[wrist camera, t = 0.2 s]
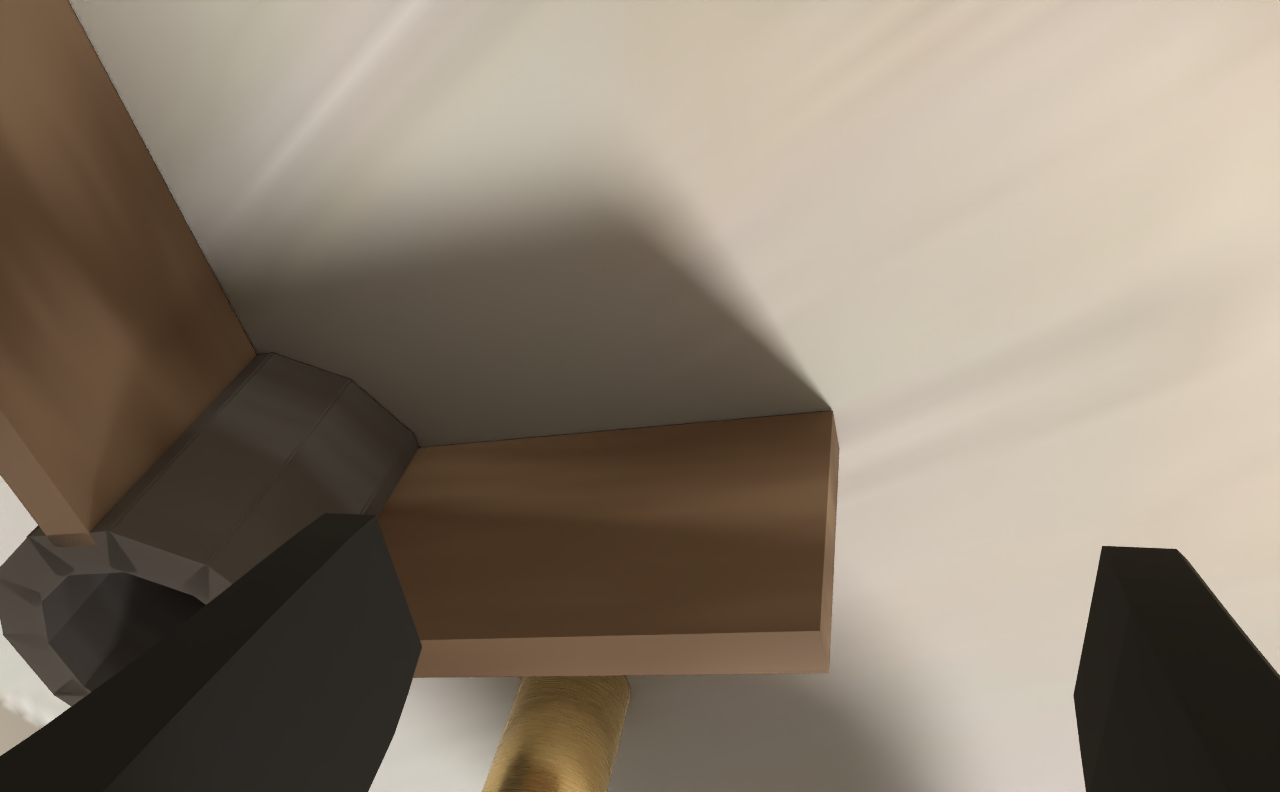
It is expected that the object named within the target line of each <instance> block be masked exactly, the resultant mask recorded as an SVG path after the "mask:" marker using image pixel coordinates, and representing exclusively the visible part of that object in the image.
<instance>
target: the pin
mask: <svg viewBox="0 0 1280 792" xmlns="http://www.w3.org/2000/svg"><path fill="white" fill-rule="evenodd" d="M630 696H631V691H630V686H629V683H628V681H627V679H626V678H625V676H624V675H611V676H523V679H522V682H521V684H520V687H519V690H518V693H517V696H516V698H515V701H514V704H513V707H512V709H511V712H510V715H509V718H508V721H507V723H506V726H505V729H504V732H503V734H502V737H501V740H500V743H499V745H498V748H497V751H496V754H495V757H494V759H493V762H492V765H491V768H490V770H489V773H488V776H487V779H486V782H485V784H484V787H483V790H482V792H607V791H608V787H609V783H610V778H611V774H612V770H613V766H614V762H615V758H616V754H617V750H618V746H619V742H620V738H621V734H622V730H623V726H624V721H625V717H626V713H627V709H628V705H629V701H630Z"/></svg>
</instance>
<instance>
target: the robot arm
mask: <svg viewBox="0 0 1280 792" xmlns="http://www.w3.org/2000/svg"><path fill="white" fill-rule="evenodd" d="M421 649H422V644H421V641H420V639H419V636H418V633H417V630H416V627H415V624H414V622H413V619H412V616H411V613H410V610H409V607H408V605H407V602H406V599H405V596H404V593H403V590H402V588H401V585H400V582H399V579H398V576H397V574H396V571H395V568H394V565H393V562H392V559H391V557H390V554H389V551H388V548H387V545H386V542H385V540H384V537H383V534H382V531H381V528H380V525H379V523H378V520H377V517H376V515H358V514H335V513H324V514H323V515H322V516H320V517H319V518H317V519H316V520H315V521H313V522H312V523H310V524H309V525H308V526H306V527H305V528H304V529H302V530H301V531H300V532H298V533H297V534H296V535H294V536H293V537H292V538H290V539H289V540H288V541H286V542H285V543H284V544H283V545H281V546H280V547H279V548H277V549H276V550H275V551H274V552H272V553H271V554H270V555H268V556H267V557H266V558H265V559H263V560H262V561H261V562H260V563H258V564H257V565H256V566H255V567H253V568H252V569H251V570H250V571H248V572H247V573H246V574H245V575H243V576H242V577H241V578H239V579H238V580H237V581H236V582H234V583H233V584H232V585H231V586H229V587H228V588H227V589H226V590H224V591H223V592H222V593H221V594H219V595H218V596H217V597H216V598H214V599H213V600H212V601H210V602H209V603H208V604H207V605H205V606H204V607H203V608H202V609H200V610H199V611H198V612H196V613H195V614H194V615H193V616H191V617H190V618H189V619H188V620H186V621H185V622H184V623H182V624H181V625H180V626H179V627H177V628H176V629H175V630H173V631H172V632H171V633H170V634H168V635H167V636H166V637H165V638H163V639H162V640H161V641H159V642H158V643H157V644H156V645H154V646H153V647H152V648H150V649H149V650H148V651H147V652H145V653H144V654H143V655H141V656H140V657H139V658H137V659H136V660H134V661H133V662H132V663H130V664H129V665H128V666H126V667H125V668H124V669H122V670H121V671H119V672H118V673H117V674H115V675H114V676H113V677H111V678H110V679H108V680H107V681H106V682H104V683H103V684H102V685H100V686H99V687H98V688H96V689H95V690H93V691H92V692H91V693H89V694H88V695H87V696H85V697H84V698H83V699H81V700H80V701H78V702H77V703H76V704H74V705H73V706H72V707H70V708H69V709H67V710H66V711H65V712H63V713H62V714H61V715H59V716H58V717H57V718H55V719H54V720H52V721H51V722H50V723H48V724H47V725H46V726H44V727H43V728H41V729H40V730H38V731H37V732H35V733H34V734H32V735H31V736H30V737H28V738H27V739H25V740H24V741H22V742H21V743H19V744H18V745H16V746H15V747H13V748H12V749H10V750H9V751H7V752H6V753H4V754H3V755H1V756H0V792H368V791H369V788H370V786H371V784H372V782H373V780H374V778H375V776H376V773H377V771H378V769H379V767H380V765H381V763H382V760H383V758H384V756H385V754H386V752H387V749H388V747H389V745H390V743H391V740H392V738H393V736H394V733H395V731H396V728H397V725H398V722H399V719H400V716H401V713H402V710H403V707H404V704H405V701H406V698H407V695H408V692H409V689H410V685H411V682H412V679H413V676H414V672H415V669H416V666H417V662H418V659H419V656H420V653H421ZM1074 702H1075V710H1076V718H1077V727H1078V735H1079V743H1080V751H1081V758H1082V766H1083V773H1084V780H1085V787H1086V792H1280V675H1279V674H1278V673H1277V672H1276V671H1275V669H1274V668H1273V667H1272V666H1271V664H1270V663H1269V662H1268V661H1267V660H1266V658H1265V657H1264V656H1263V655H1262V653H1261V652H1260V651H1259V650H1258V649H1257V647H1256V646H1255V645H1254V644H1253V642H1252V641H1251V640H1250V639H1249V638H1248V636H1247V635H1246V634H1245V633H1244V631H1243V630H1242V629H1241V628H1240V626H1239V625H1238V624H1237V623H1236V621H1235V620H1234V619H1233V618H1232V616H1231V615H1230V614H1229V613H1228V611H1227V610H1226V609H1225V607H1224V606H1223V605H1222V604H1221V602H1220V601H1219V600H1218V599H1217V597H1216V596H1215V595H1214V593H1213V592H1212V591H1211V590H1210V588H1209V587H1208V586H1207V584H1206V583H1205V582H1204V581H1203V579H1202V578H1201V577H1200V575H1199V574H1198V573H1197V572H1196V570H1195V569H1194V568H1193V566H1192V565H1191V564H1190V563H1189V561H1188V560H1187V559H1186V558H1185V557H1184V556H1183V555H1182V554H1181V553H1180V552H1179V551H1178V550H1177V549H1162V548H1138V547H1115V546H1102V550H1101V555H1100V560H1099V566H1098V571H1097V576H1096V581H1095V587H1094V592H1093V597H1092V602H1091V607H1090V613H1089V618H1088V623H1087V628H1086V633H1085V639H1084V644H1083V649H1082V654H1081V659H1080V665H1079V670H1078V675H1077V680H1076V685H1075V691H1074Z"/></svg>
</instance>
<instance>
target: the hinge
mask: <svg viewBox="0 0 1280 792" xmlns="http://www.w3.org/2000/svg"><path fill="white" fill-rule="evenodd" d="M838 467H839V444H838V438H837V433H836V427H835V421H834V415H833V411H827V412H816V413H804V414H793V415H782V416H771V417H759V418H748V419H737V420H726V421H715V422H703V423H692V424H681V425H670V426H658V427H647V428H636V429H625V430H614V431H602V432H591V433H580V434H569V435H557V436H546V437H535V438H524V439H513V440H501V441H490V442H479V443H468V444H456V445H445V446H434V447H423V448H419V446H418V444H417V442H416V439H415V437H414V435H413V433H412V432H411V431H410V430H408V429H407V428H406V427H405V426H404V425H403V424H401V423H400V422H399V421H398V420H397V419H396V418H394V417H393V416H392V415H391V414H390V413H389V412H387V411H386V410H385V409H384V408H383V407H382V406H380V405H379V404H378V403H377V402H376V401H375V400H373V399H372V398H371V397H370V396H369V395H368V394H366V393H365V392H364V391H363V390H362V389H361V388H360V387H358V386H357V385H356V384H355V383H354V382H353V381H352V380H350V379H347V378H344V377H341V376H338V375H335V374H332V373H329V372H327V371H324V370H321V369H318V368H315V367H312V366H309V365H306V364H303V363H300V362H298V361H295V360H292V359H289V358H286V357H283V356H280V355H277V354H274V353H272V352H271V353H268V354H261V355H257V354H256V353H255V351H254V349H253V347H252V345H251V343H250V341H249V339H248V338H247V336H246V334H245V332H244V330H243V328H242V326H241V325H240V323H239V321H238V319H237V317H236V315H235V313H234V311H233V310H232V308H231V306H230V304H229V302H228V300H227V298H226V296H225V295H224V293H223V291H222V289H221V287H220V285H219V283H218V281H217V280H216V278H215V276H214V274H213V272H212V270H211V268H210V266H209V265H208V263H207V261H206V259H205V257H204V255H203V253H202V251H201V250H200V248H199V246H198V244H197V242H196V240H195V238H194V236H193V235H192V233H191V231H190V229H189V227H188V225H187V223H186V221H185V220H184V218H183V216H182V214H181V212H180V210H179V208H178V206H177V205H176V203H175V201H174V199H173V197H172V195H171V193H170V191H169V190H168V188H167V186H166V184H165V182H164V180H163V178H162V176H161V175H160V173H159V171H158V169H157V167H156V165H155V163H154V161H153V160H152V158H151V156H150V154H149V152H148V150H147V148H146V146H145V145H144V143H143V141H142V139H141V137H140V135H139V133H138V131H137V130H136V128H135V126H134V124H133V122H132V120H131V118H130V116H129V115H128V113H127V111H126V109H125V107H124V105H123V103H122V102H121V100H120V98H119V96H118V94H117V92H116V90H115V88H114V87H113V85H112V83H111V81H110V79H109V77H108V75H107V73H106V72H105V70H104V68H103V66H102V64H101V62H100V60H99V58H98V57H97V55H96V53H95V51H94V49H93V47H92V45H91V43H90V42H89V40H88V38H87V36H86V34H85V32H84V30H83V28H82V27H81V25H80V23H79V21H78V19H77V17H76V15H75V13H74V12H73V10H72V8H71V6H70V4H69V2H68V0H0V475H1V476H2V478H3V479H4V480H5V482H6V483H7V484H8V486H9V487H10V488H11V489H12V491H13V492H14V493H15V495H16V496H17V497H18V499H19V500H20V501H21V503H22V504H23V505H24V507H25V508H26V509H27V511H28V512H29V513H30V515H31V516H32V517H33V519H34V520H35V521H36V523H37V524H38V526H37V527H36V528H35V529H34V530H33V531H32V532H31V533H30V534H29V535H28V536H27V538H26V539H25V541H24V542H23V543H22V544H21V545H20V546H19V547H18V548H17V549H16V550H15V552H14V553H13V554H12V555H11V556H10V557H9V558H8V559H7V560H6V561H5V562H4V564H3V565H2V566H1V567H0V620H1V625H2V630H3V635H4V636H5V638H6V639H7V640H8V641H9V642H10V643H11V645H12V646H13V647H14V648H15V649H16V651H17V652H18V653H19V654H20V655H21V656H22V658H23V659H24V660H25V661H26V662H27V664H28V665H29V666H30V667H31V668H32V669H33V671H34V672H35V673H36V674H37V675H38V677H39V678H40V679H41V680H42V681H43V682H44V684H45V685H46V686H47V687H48V688H49V690H50V691H51V692H52V693H53V695H55V696H56V697H58V698H59V699H61V700H62V701H64V702H66V703H67V704H69V705H70V706H73V705H74V704H76V703H77V702H78V701H80V700H81V699H83V698H84V697H85V696H87V695H88V694H89V693H91V692H92V691H93V690H95V689H96V688H98V687H99V686H100V685H102V684H103V683H104V682H106V681H107V680H108V679H110V678H111V677H113V676H114V675H115V674H117V673H118V672H119V671H121V670H122V669H124V668H125V667H126V666H128V665H129V664H130V663H132V662H133V661H134V660H136V659H137V658H139V657H140V656H141V655H143V654H144V653H145V652H147V651H148V650H149V649H150V648H152V647H153V646H154V645H156V644H157V643H158V642H159V641H161V640H162V639H163V638H165V637H166V636H167V635H168V634H170V633H171V632H172V631H173V630H175V629H176V628H177V627H179V626H180V625H181V624H182V623H184V622H185V621H186V620H188V619H189V618H190V617H191V616H193V615H194V614H195V613H196V612H198V611H199V610H200V609H202V608H203V607H204V606H205V605H207V604H208V603H209V602H210V601H212V600H213V599H214V598H216V597H217V596H218V595H219V594H221V593H222V592H223V591H224V590H226V589H227V588H228V587H229V586H231V585H232V584H233V583H234V582H236V581H237V580H238V579H239V578H241V577H242V576H243V575H245V574H246V573H247V572H248V571H250V570H251V569H252V568H253V567H255V566H256V565H257V564H258V563H260V562H261V561H262V560H263V559H265V558H266V557H267V556H268V555H270V554H271V553H272V552H274V551H275V550H276V549H277V548H279V547H280V546H281V545H283V544H284V543H285V542H286V541H288V540H289V539H290V538H292V537H293V536H294V535H296V534H297V533H298V532H300V531H301V530H302V529H304V528H305V527H306V526H308V525H309V524H310V523H312V522H313V521H315V520H316V519H317V518H319V517H320V516H322V515H323V514H324V513H335V514H358V515H376V517H377V520H378V523H379V525H380V528H381V531H382V534H383V537H384V540H385V542H386V545H387V548H388V551H389V554H390V557H391V559H392V562H393V565H394V568H395V571H396V574H397V576H398V579H399V582H400V585H401V588H402V590H403V593H404V596H405V599H406V602H407V605H408V607H409V610H410V613H411V616H412V619H413V622H414V624H415V627H416V630H417V633H418V636H419V639H420V641H421V644H422V649H421V653H420V656H419V659H418V662H417V666H416V669H415V672H414V676H413V678H425V677H518V676H611V675H705V674H798V673H829V661H830V639H831V618H832V596H833V575H834V553H835V531H836V510H837V488H838Z"/></svg>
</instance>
